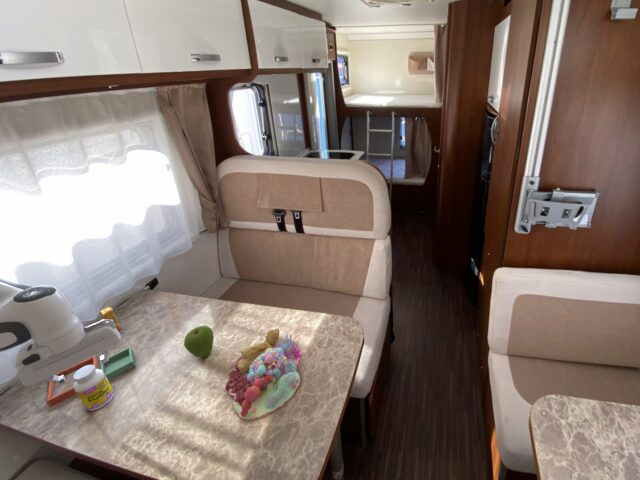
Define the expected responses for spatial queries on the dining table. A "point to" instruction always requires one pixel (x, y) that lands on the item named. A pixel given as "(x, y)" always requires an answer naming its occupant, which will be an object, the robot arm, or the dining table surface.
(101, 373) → the supplement bottle
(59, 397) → the terracotta tray
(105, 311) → the supplement box
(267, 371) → the candy landscape model
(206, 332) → the apple
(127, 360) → the sage tray
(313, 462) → the dining table surface
